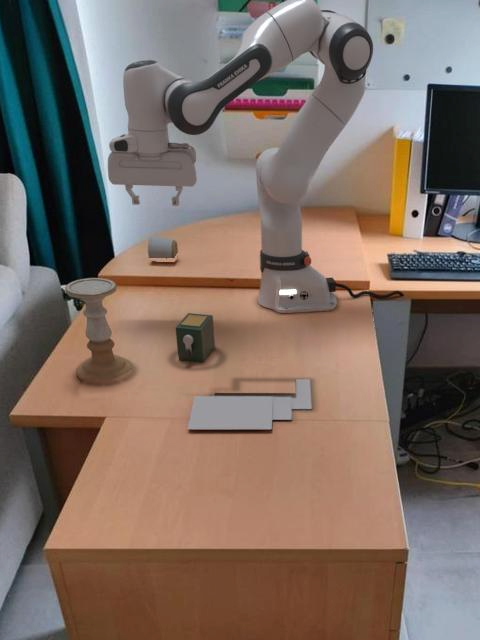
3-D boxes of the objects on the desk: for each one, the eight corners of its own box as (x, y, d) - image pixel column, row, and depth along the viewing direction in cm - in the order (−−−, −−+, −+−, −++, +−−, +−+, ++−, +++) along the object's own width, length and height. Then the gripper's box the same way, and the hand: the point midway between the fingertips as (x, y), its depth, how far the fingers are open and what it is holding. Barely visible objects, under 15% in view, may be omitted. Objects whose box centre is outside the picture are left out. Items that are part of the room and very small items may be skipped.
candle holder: (143, 365, 167) (131, 279, 155) (116, 388, 157) (102, 299, 145) (95, 357, 169) (80, 273, 158) (66, 380, 159) (47, 291, 148)
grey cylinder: (175, 266, 225) (173, 241, 220) (148, 265, 224) (146, 240, 220) (181, 256, 233) (179, 232, 229) (155, 255, 233) (153, 231, 229)
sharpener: (191, 343, 174) (188, 311, 170) (215, 346, 174) (213, 314, 169) (174, 365, 165) (170, 331, 160) (199, 367, 164) (196, 334, 159)
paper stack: (199, 379, 162) (198, 376, 161) (310, 379, 164) (310, 376, 163) (187, 432, 143) (187, 429, 142) (313, 432, 145) (313, 429, 144)
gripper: (196, 141, 169) (200, 202, 177) (107, 138, 167) (116, 200, 175) (193, 146, 164) (198, 209, 171) (101, 143, 162) (110, 206, 170)
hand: (156, 204), depth 173 cm, fingers open, 8 cm apart
